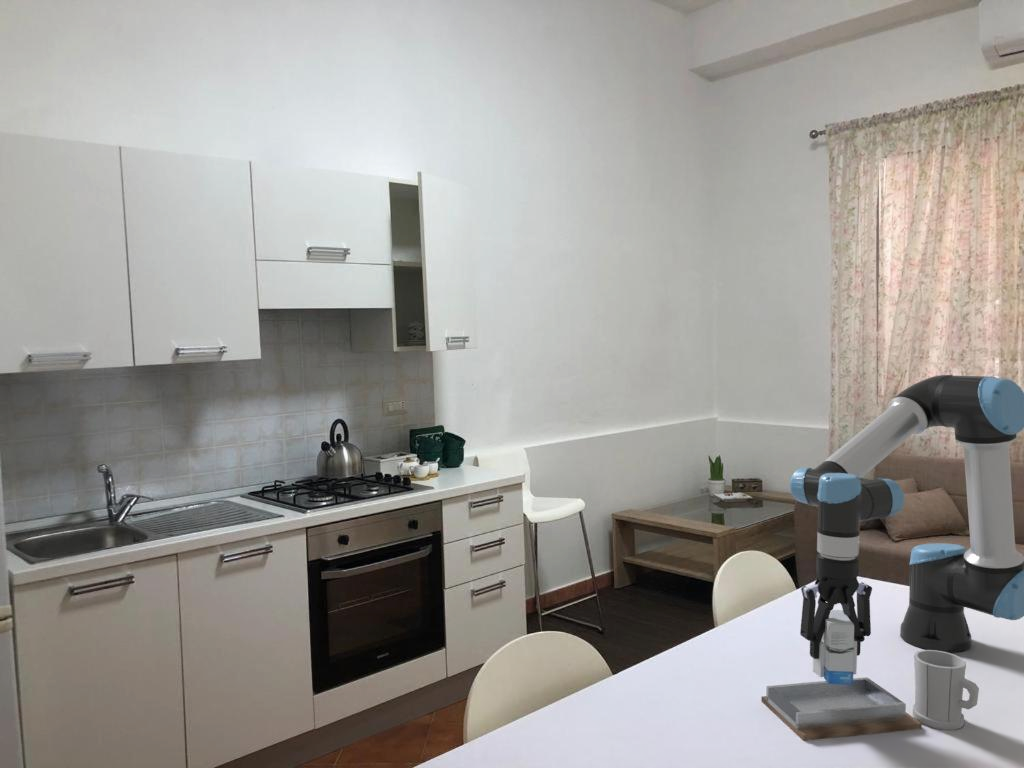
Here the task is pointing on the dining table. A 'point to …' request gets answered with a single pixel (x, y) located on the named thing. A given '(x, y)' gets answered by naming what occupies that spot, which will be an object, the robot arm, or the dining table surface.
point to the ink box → (838, 648)
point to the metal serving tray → (834, 703)
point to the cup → (941, 689)
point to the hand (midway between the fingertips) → (834, 672)
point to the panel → (850, 727)
